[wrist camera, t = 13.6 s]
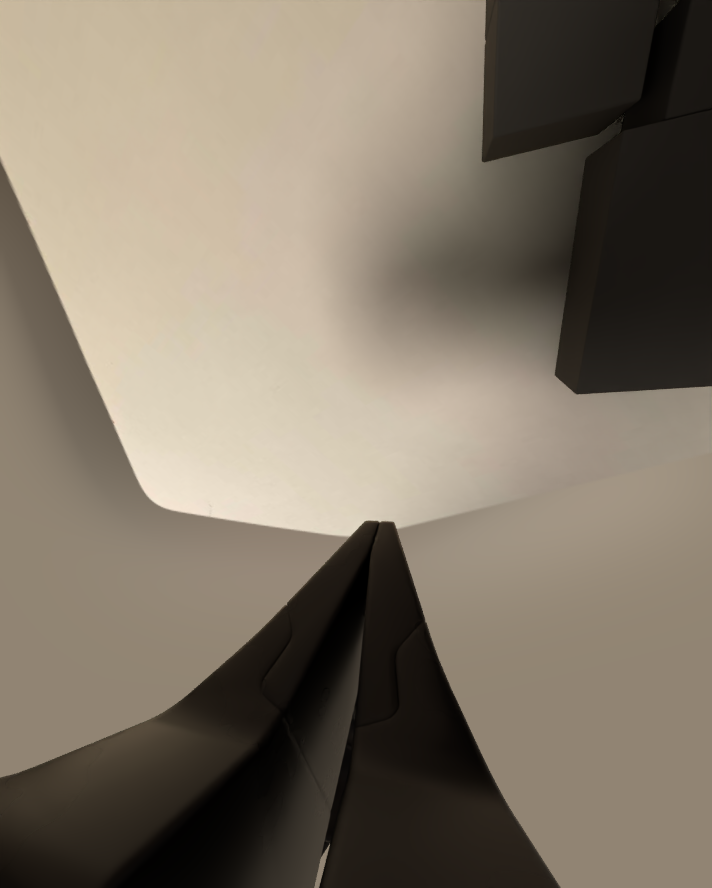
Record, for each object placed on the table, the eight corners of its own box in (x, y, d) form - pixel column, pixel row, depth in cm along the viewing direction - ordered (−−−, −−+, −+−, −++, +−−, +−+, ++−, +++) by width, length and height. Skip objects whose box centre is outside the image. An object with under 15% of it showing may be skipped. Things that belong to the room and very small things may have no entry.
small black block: (821, -8, 10) (956, -104, 7) (694, 364, 15) (745, 384, 13) (599, 58, 11) (646, -3, 9) (554, 375, 17) (575, 395, 14)
